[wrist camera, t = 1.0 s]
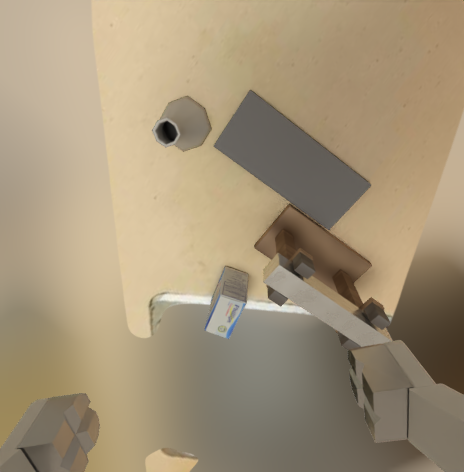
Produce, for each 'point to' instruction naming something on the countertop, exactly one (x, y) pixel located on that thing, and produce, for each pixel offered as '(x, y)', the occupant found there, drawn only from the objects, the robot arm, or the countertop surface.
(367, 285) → the countertop surface
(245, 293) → the medicine box
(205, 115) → the flask
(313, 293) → the steel rail
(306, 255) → the rail stand
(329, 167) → the rubber mat
